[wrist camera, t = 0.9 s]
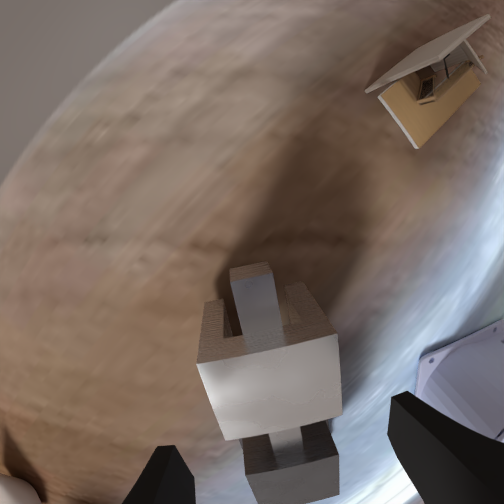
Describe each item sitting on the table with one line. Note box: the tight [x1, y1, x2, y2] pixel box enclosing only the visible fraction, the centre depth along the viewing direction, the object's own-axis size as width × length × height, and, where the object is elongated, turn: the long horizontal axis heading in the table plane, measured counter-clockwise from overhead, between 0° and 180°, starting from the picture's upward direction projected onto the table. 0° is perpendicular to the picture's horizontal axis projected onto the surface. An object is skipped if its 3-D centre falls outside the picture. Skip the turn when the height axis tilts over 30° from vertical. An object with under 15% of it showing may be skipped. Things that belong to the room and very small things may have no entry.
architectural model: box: [364, 14, 491, 149], centre depth 12 cm, size 3×7×7 cm, turn 133°
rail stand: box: [230, 261, 339, 504], centre depth 16 cm, size 6×16×6 cm, turn 11°
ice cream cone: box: [0, 473, 41, 504], centre depth 18 cm, size 6×6×15 cm
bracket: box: [197, 281, 342, 441], centre depth 14 cm, size 5×4×6 cm
